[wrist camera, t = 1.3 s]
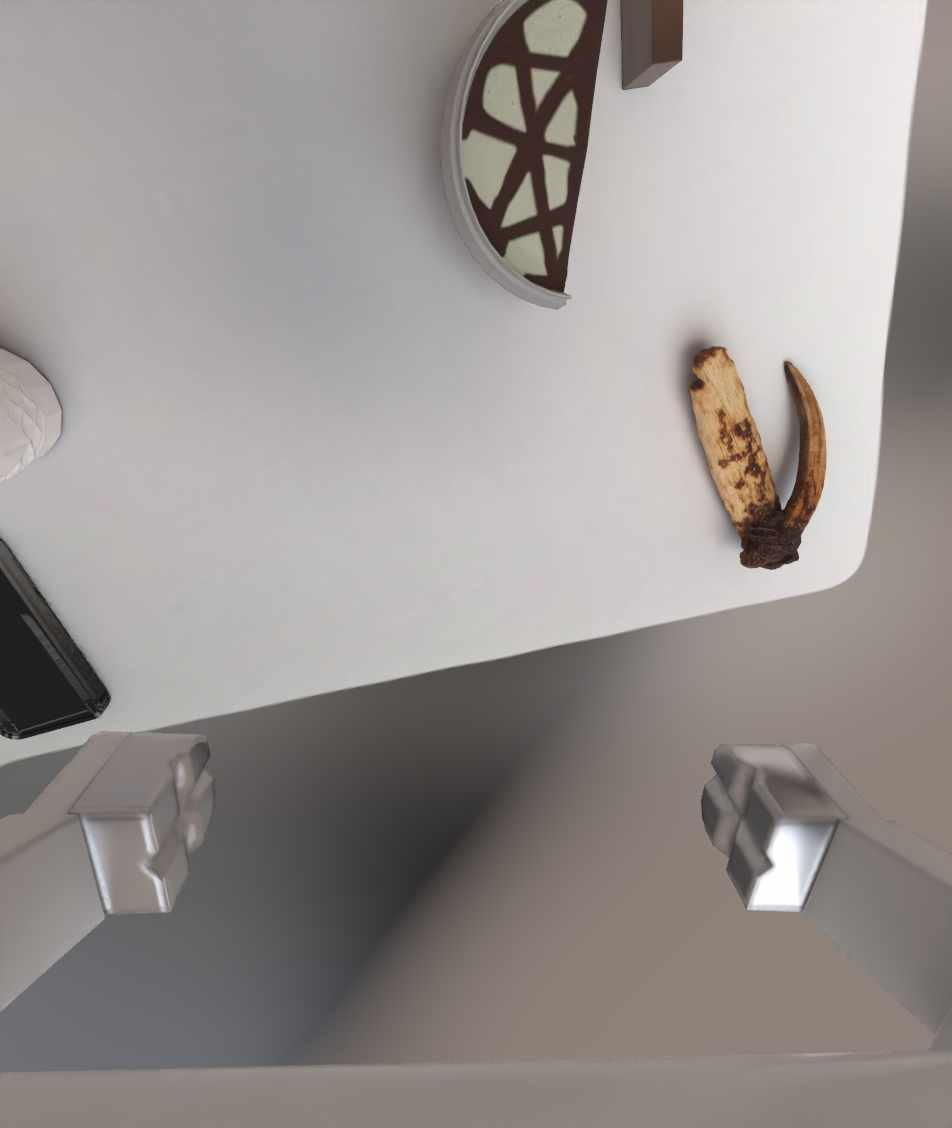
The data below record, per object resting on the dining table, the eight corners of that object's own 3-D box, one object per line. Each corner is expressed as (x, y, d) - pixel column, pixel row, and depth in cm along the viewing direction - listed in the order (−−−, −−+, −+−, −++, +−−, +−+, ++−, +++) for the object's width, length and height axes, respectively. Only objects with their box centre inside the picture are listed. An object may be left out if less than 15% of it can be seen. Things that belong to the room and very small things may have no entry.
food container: (437, 22, 28) (458, -98, 20) (555, 45, 29) (627, -60, 21) (422, 293, 34) (434, 296, 25) (523, 305, 35) (569, 311, 26)
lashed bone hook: (831, 513, 45) (777, 292, 36) (879, 536, 41) (830, 293, 32) (725, 573, 45) (648, 370, 37) (762, 602, 41) (684, 381, 33)
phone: (7, 743, 42) (-140, 569, 35) (16, 732, 43) (-126, 561, 36) (111, 714, 42) (-16, 535, 35) (117, 704, 43) (-4, 528, 36)
